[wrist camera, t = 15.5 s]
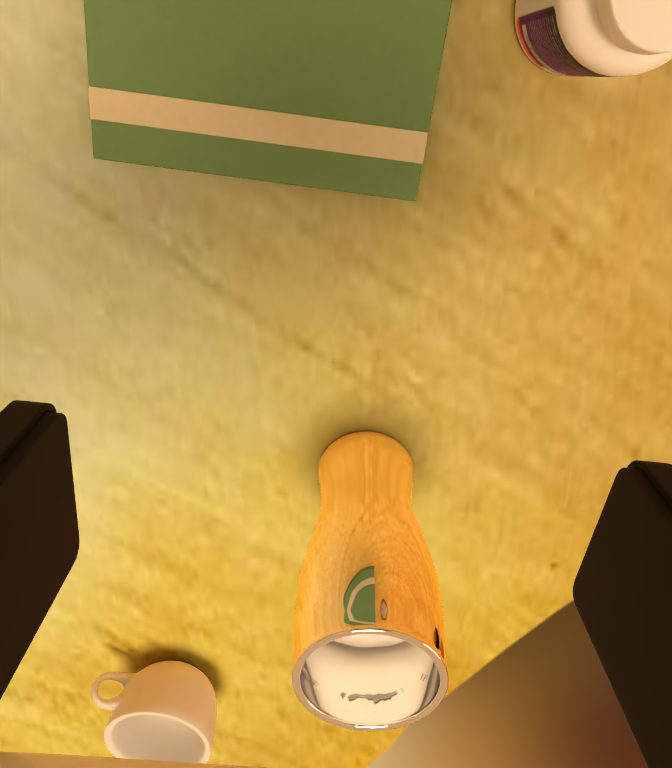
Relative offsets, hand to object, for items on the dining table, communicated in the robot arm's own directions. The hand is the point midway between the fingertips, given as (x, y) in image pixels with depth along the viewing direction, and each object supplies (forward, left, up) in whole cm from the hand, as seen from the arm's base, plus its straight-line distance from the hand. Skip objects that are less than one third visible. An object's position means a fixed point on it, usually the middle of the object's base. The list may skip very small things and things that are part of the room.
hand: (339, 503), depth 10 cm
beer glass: (+3, -16, -24) cm, 29 cm away
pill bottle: (+9, +10, -24) cm, 27 cm away
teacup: (-10, -38, -24) cm, 46 cm away
